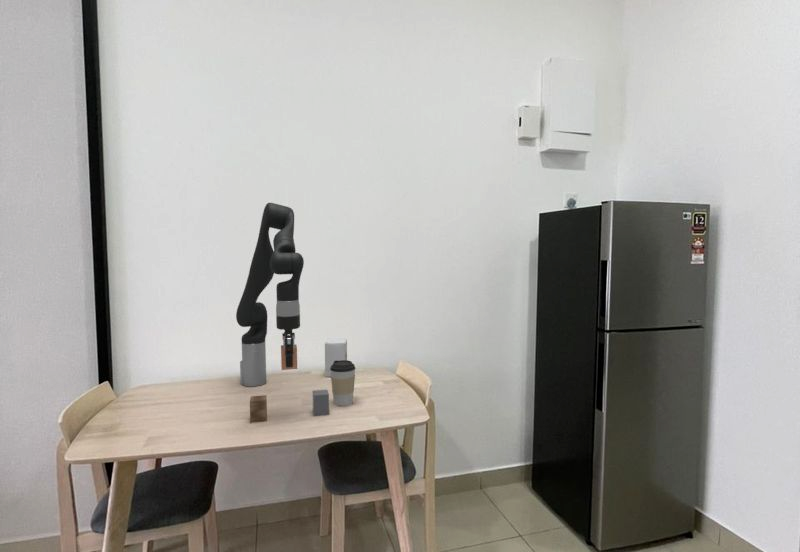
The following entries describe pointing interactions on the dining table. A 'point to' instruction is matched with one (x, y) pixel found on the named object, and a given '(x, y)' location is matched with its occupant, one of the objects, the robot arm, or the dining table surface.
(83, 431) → the dining table surface
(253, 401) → the walnut block
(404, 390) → the dining table surface
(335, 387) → the coffee cup
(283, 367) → the terracotta block
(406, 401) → the dining table surface
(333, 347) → the supplement box
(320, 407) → the charcoal block
